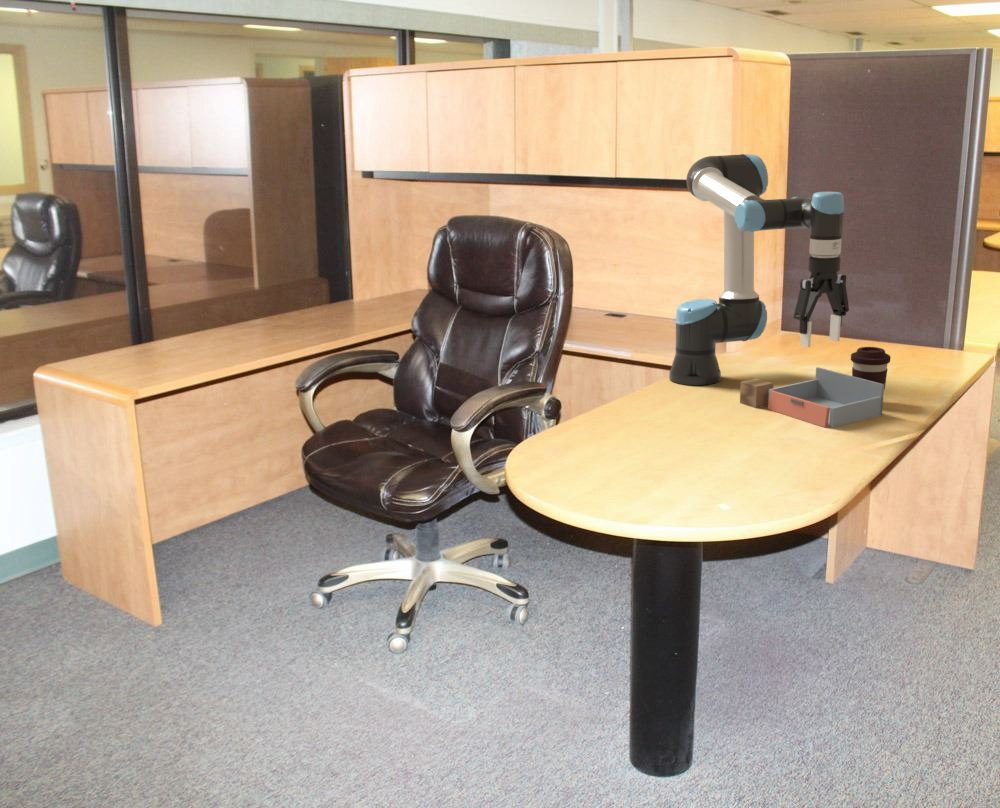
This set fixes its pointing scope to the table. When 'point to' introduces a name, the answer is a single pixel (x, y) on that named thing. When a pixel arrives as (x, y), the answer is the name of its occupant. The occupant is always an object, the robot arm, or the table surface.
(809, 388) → the truck bed
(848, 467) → the table surface
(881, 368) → the coffee cup
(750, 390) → the walnut block
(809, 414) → the panel
